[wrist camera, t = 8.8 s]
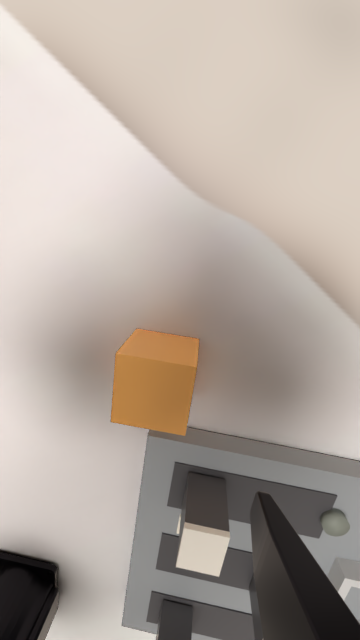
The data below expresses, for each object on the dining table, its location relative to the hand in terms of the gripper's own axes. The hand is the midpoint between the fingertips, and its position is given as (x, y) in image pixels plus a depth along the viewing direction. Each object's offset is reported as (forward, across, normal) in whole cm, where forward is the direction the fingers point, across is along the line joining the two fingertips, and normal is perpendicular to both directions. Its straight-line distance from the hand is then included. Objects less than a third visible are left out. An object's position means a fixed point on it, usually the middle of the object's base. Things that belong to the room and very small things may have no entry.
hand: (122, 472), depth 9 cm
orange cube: (+8, 0, 0) cm, 9 cm away
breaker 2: (+7, -4, +8) cm, 11 cm away
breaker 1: (+7, -4, +21) cm, 22 cm away
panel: (+8, -10, +14) cm, 19 cm away
